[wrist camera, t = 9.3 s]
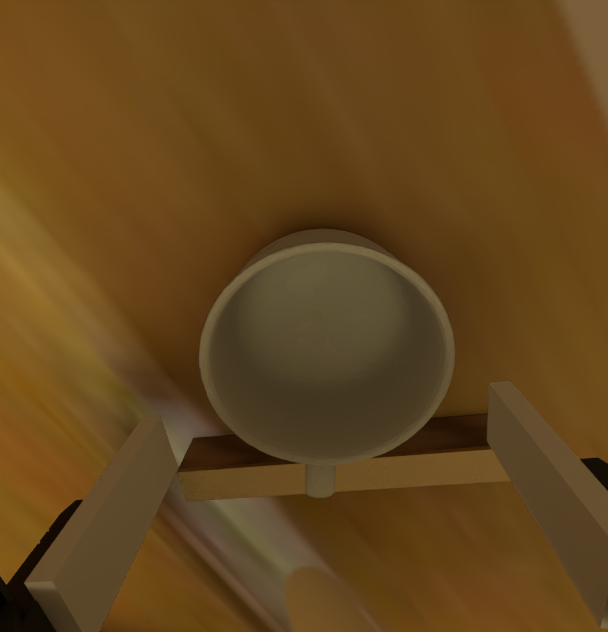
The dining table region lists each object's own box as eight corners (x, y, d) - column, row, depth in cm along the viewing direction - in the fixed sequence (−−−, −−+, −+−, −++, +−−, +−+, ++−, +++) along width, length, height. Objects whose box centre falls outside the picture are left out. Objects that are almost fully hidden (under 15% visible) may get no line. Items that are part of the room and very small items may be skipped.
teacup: (253, 195, 21) (212, 215, 13) (442, 238, 21) (504, 280, 14) (223, 399, 26) (182, 494, 19) (373, 430, 26) (391, 536, 19)
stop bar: (201, 464, 28) (186, 501, 25) (192, 437, 27) (176, 472, 24) (502, 442, 26) (526, 479, 23) (504, 411, 25) (529, 446, 22)
